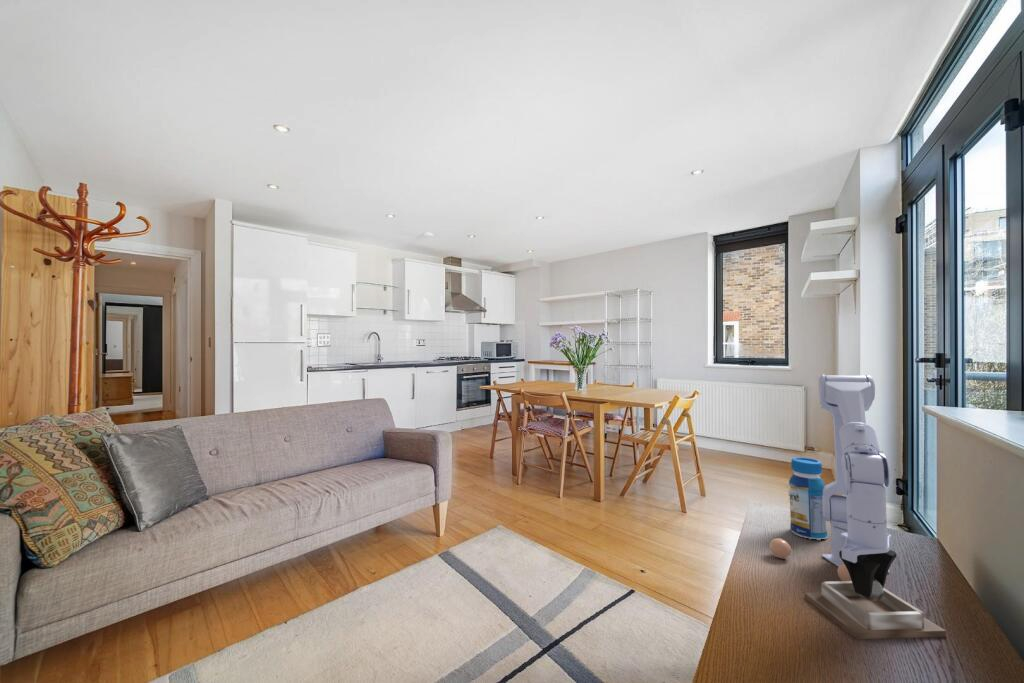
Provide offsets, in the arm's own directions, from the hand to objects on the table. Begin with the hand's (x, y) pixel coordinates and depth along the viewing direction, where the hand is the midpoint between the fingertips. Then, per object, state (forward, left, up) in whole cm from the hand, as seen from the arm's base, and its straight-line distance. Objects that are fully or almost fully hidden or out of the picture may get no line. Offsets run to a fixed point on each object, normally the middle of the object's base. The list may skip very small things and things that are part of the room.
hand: (869, 590), depth 77 cm
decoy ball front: (+2, -22, -2) cm, 22 cm away
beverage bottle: (-14, -34, -5) cm, 37 cm away
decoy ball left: (-5, -10, -2) cm, 11 cm away
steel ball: (0, 0, 0) cm, 1 cm away
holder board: (0, 0, -5) cm, 5 cm away
